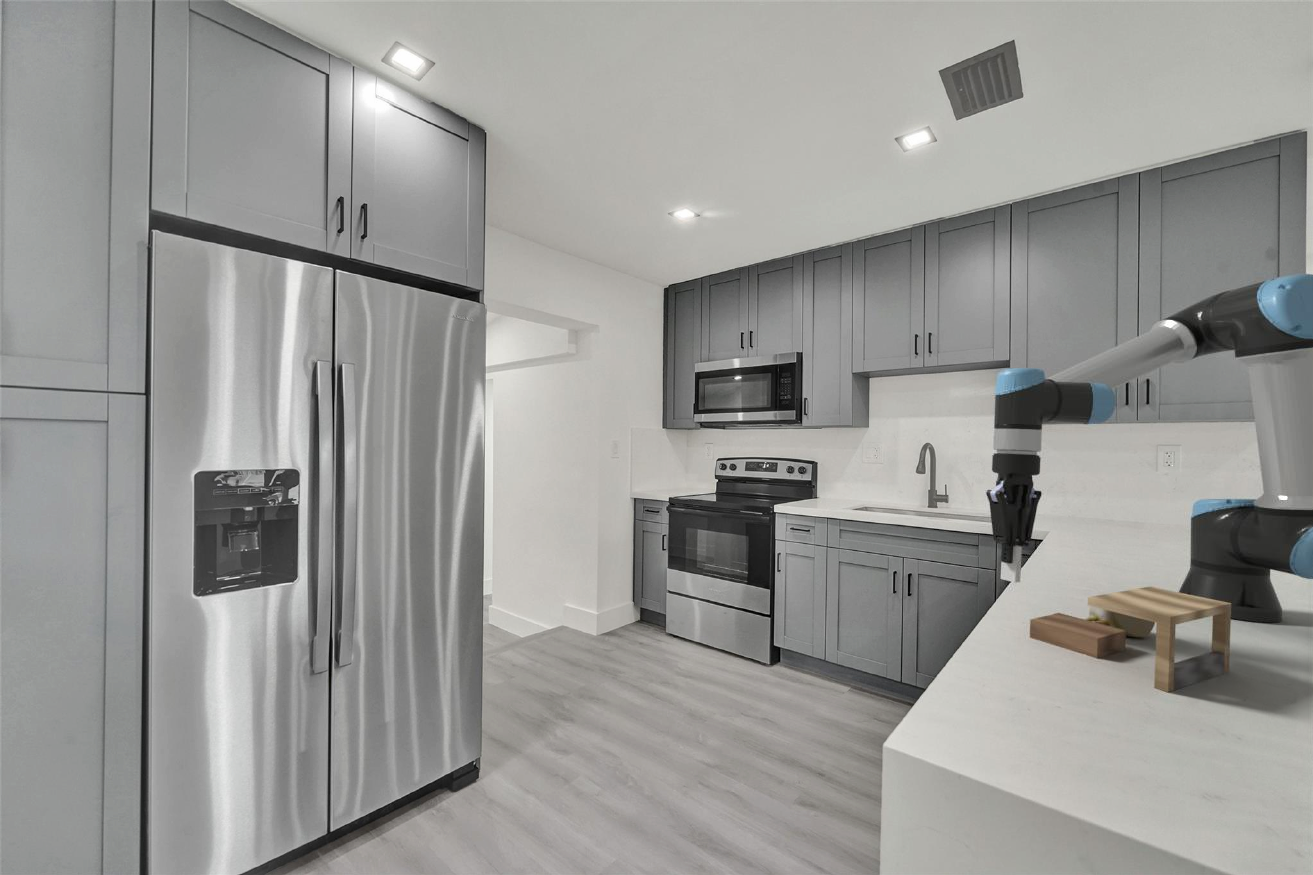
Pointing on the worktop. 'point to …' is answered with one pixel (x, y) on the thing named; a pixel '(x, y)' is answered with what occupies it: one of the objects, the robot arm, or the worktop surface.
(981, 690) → the worktop surface
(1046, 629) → the slab
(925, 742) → the worktop surface
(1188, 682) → the shelf
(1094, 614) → the mug
